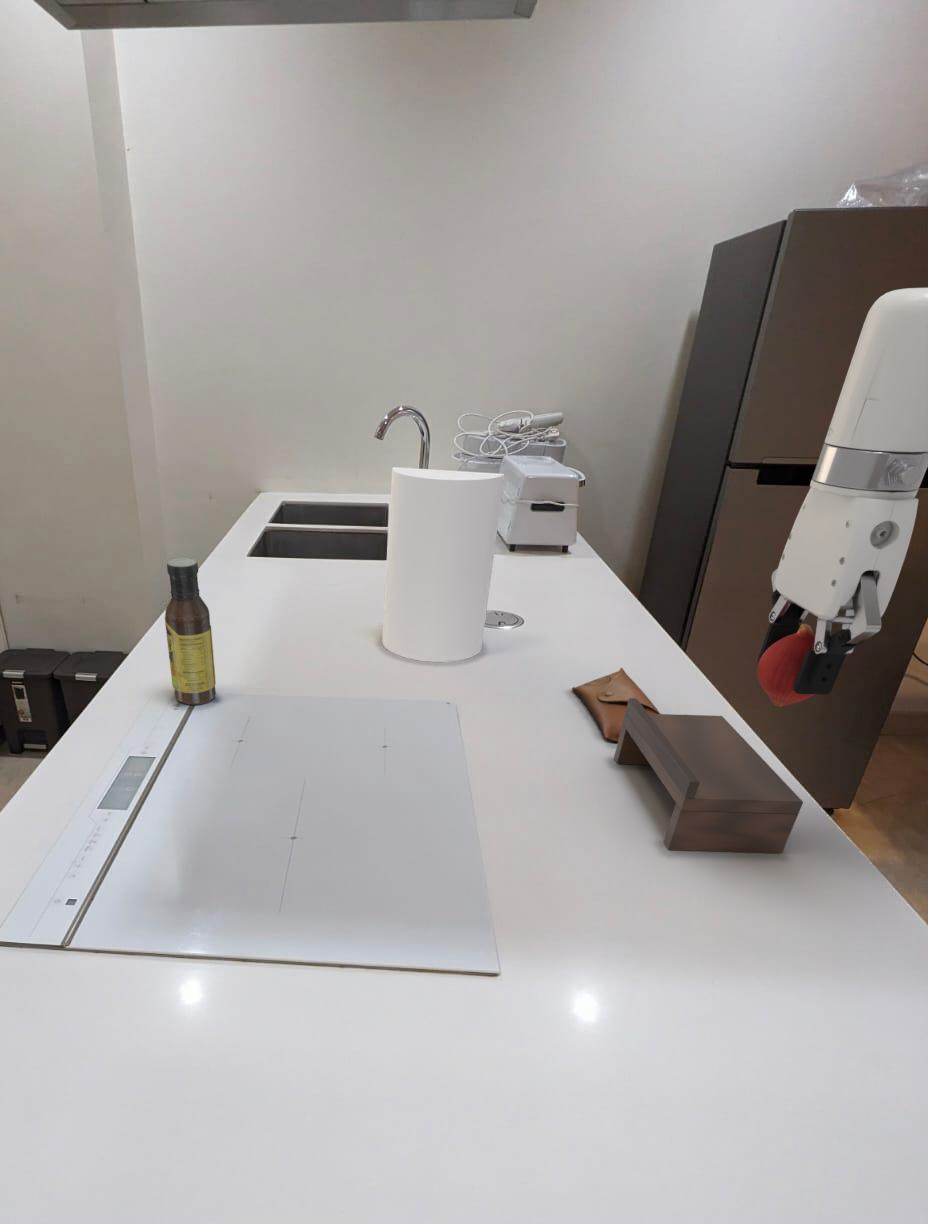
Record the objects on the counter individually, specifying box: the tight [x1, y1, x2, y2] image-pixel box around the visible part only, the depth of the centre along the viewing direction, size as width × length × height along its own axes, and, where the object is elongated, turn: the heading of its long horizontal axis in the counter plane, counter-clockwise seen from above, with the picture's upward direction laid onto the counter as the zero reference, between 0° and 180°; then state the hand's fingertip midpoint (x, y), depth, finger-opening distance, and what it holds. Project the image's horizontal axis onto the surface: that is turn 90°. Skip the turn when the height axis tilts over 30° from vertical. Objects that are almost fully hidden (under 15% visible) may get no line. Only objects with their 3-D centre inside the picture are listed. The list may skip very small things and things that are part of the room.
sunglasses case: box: [571, 667, 661, 743], centre depth 107 cm, size 18×7×7 cm
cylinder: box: [381, 466, 506, 663], centre depth 123 cm, size 17×17×28 cm
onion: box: [756, 623, 816, 707], centre depth 70 cm, size 6×6×8 cm
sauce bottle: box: [164, 557, 217, 706], centre depth 105 cm, size 6×6×20 cm
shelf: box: [613, 698, 804, 854], centre depth 86 cm, size 12×20×8 cm, turn 178°
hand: (792, 676), depth 70 cm, fingers closed on onion, 5 cm apart
